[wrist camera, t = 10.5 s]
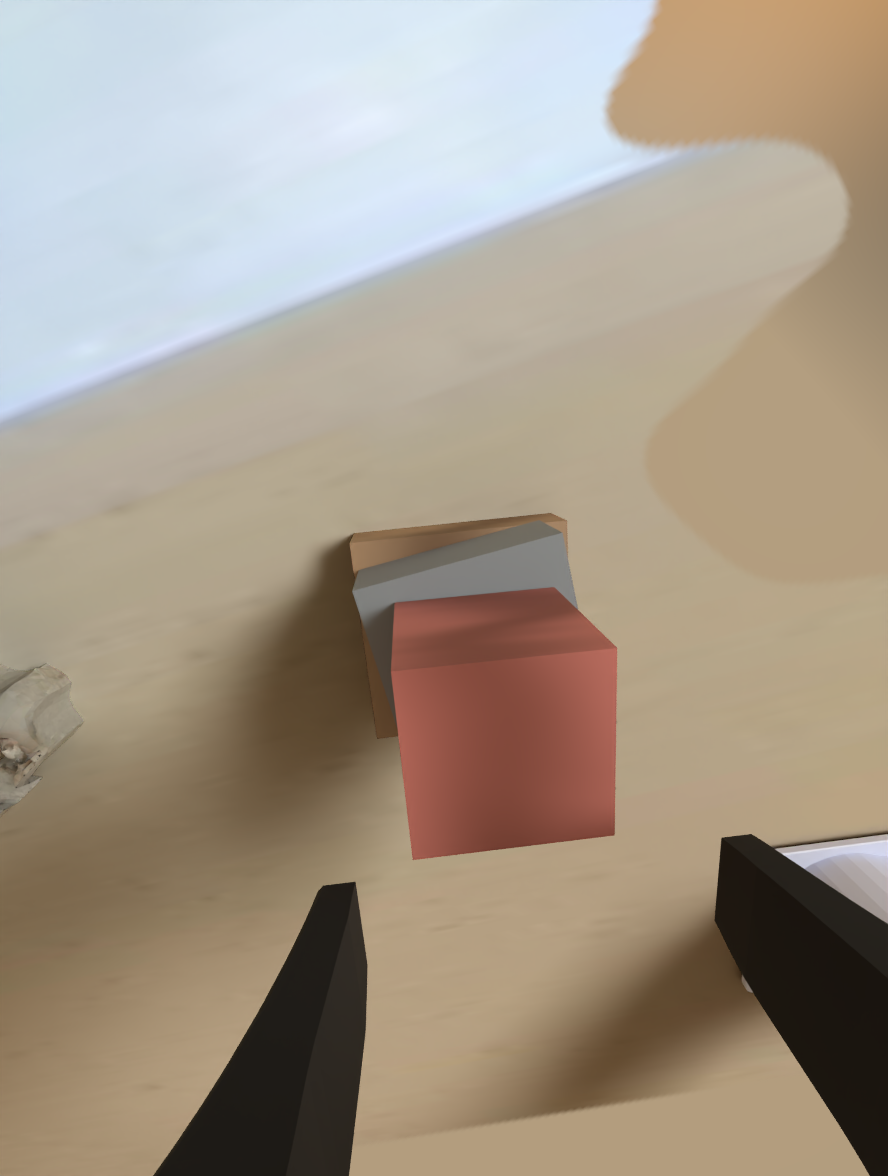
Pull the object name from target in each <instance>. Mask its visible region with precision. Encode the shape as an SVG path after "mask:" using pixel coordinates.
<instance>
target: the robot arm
mask: <svg viewBox="0 0 888 1176" xmlns="http://www.w3.org/2000/svg"><path fill="white" fill-rule="evenodd" d="M715 922H716V924H717V926H718V928H719V930H720V932H721V934H722V936H723V938H724V940H725V942H726V944H727V946H728V948H729V950H730V952H731V954H732V956H733V958H734V960H735V962H736V964H737V965H738V967H739V969H740V971H741V973H742V984H743V985H744V987H745V988H746V990H747V991H748V992H751V993H754V995H755V996H756V998H757V999H758V1001H759V1002H760V1004H761V1005H762V1007H763V1009H764V1010H765V1012H766V1013H767V1015H768V1016H769V1018H770V1019H771V1021H772V1023H773V1024H774V1026H775V1027H776V1029H777V1030H778V1032H779V1033H780V1035H781V1036H782V1038H783V1040H784V1041H785V1043H786V1044H787V1046H788V1047H789V1049H790V1050H791V1052H792V1053H793V1055H794V1056H795V1058H796V1059H797V1061H798V1063H799V1064H800V1066H801V1067H802V1069H803V1070H804V1072H805V1073H806V1075H807V1076H808V1078H809V1079H810V1081H811V1082H812V1084H813V1085H814V1087H815V1089H816V1090H817V1092H818V1093H819V1094H820V1096H821V1098H822V1099H823V1101H824V1102H825V1104H826V1106H827V1107H828V1109H829V1110H830V1112H831V1113H832V1115H833V1116H834V1118H835V1119H836V1121H837V1122H838V1124H839V1125H840V1127H841V1129H842V1130H843V1132H844V1134H845V1135H846V1137H847V1138H848V1140H849V1142H850V1143H851V1145H852V1147H853V1148H854V1150H855V1151H856V1153H857V1155H858V1156H859V1158H860V1160H861V1161H862V1163H863V1165H864V1166H865V1168H866V1170H867V1172H868V1173H869V1175H870V1176H888V834H885V835H877V836H870V837H862V838H854V839H847V840H839V841H831V842H823V843H816V844H808V845H800V846H793V847H785V848H777V849H774V848H772V847H771V846H769V845H768V844H766V843H765V842H763V841H761V840H760V839H758V838H757V837H755V836H753V835H752V834H749V835H741V836H732V837H724V838H722V839H721V851H720V862H719V874H718V886H717V898H716V910H715ZM366 1001H367V959H366V952H365V945H364V938H363V931H362V924H361V917H360V910H359V903H358V896H357V889H356V883H355V882H350V883H342V884H334V885H325V886H323V887H322V888H321V889H320V890H319V891H318V893H317V895H316V897H315V900H314V902H313V905H312V907H311V909H310V911H309V914H308V916H307V918H306V920H305V922H304V925H303V927H302V929H301V931H300V933H299V935H298V937H297V939H296V941H295V943H294V945H293V947H292V949H291V951H290V953H289V955H288V957H287V959H286V961H285V963H284V965H283V967H282V969H281V971H280V973H279V974H278V976H277V978H276V980H275V982H274V984H273V986H272V988H271V990H270V991H269V993H268V995H267V997H266V999H265V1001H264V1003H263V1004H262V1006H261V1008H260V1010H259V1012H258V1013H257V1015H256V1017H255V1019H254V1020H253V1022H252V1024H251V1025H250V1027H249V1029H248V1030H247V1032H246V1034H245V1035H244V1037H243V1039H242V1041H241V1042H240V1044H239V1046H238V1047H237V1049H236V1051H235V1052H234V1054H233V1056H232V1058H231V1059H230V1061H229V1063H228V1064H227V1066H226V1068H225V1069H224V1071H223V1072H222V1074H221V1076H220V1077H219V1079H218V1080H217V1082H216V1084H215V1085H214V1087H213V1088H212V1090H211V1091H210V1093H209V1095H208V1096H207V1098H206V1099H205V1101H204V1102H203V1104H202V1105H201V1107H200V1108H199V1110H198V1112H197V1113H196V1115H195V1116H194V1117H193V1119H192V1120H191V1122H190V1123H189V1125H188V1126H187V1128H186V1129H185V1131H184V1132H183V1134H182V1135H181V1137H180V1138H179V1140H178V1141H177V1143H176V1144H175V1146H174V1147H173V1149H172V1150H171V1152H170V1153H169V1154H168V1156H167V1157H166V1159H165V1160H164V1161H163V1163H162V1164H161V1166H160V1167H159V1168H158V1170H157V1171H156V1173H155V1174H154V1175H153V1176H349V1170H350V1161H351V1153H352V1144H353V1136H354V1127H355V1119H356V1110H357V1102H358V1093H359V1084H360V1076H361V1067H362V1058H363V1049H364V1040H365V1031H366Z"/></svg>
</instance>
